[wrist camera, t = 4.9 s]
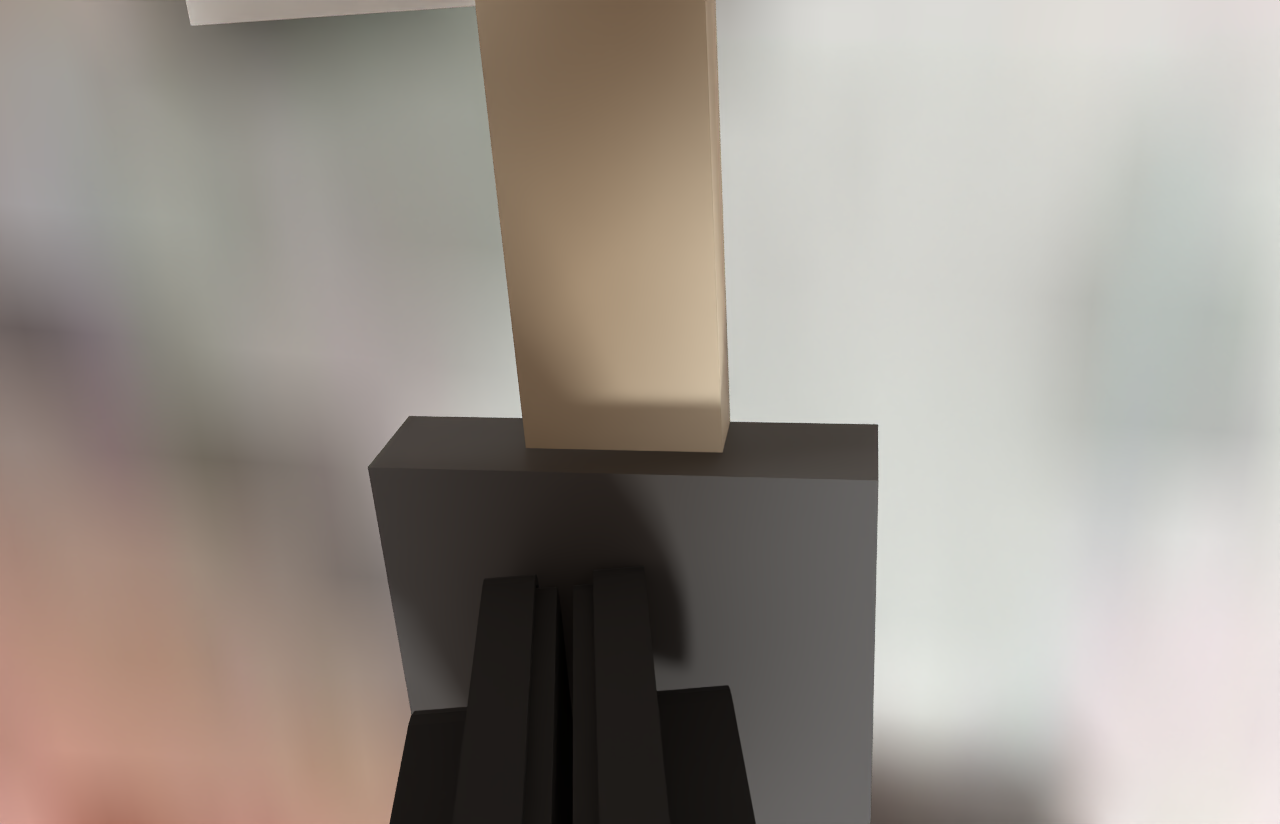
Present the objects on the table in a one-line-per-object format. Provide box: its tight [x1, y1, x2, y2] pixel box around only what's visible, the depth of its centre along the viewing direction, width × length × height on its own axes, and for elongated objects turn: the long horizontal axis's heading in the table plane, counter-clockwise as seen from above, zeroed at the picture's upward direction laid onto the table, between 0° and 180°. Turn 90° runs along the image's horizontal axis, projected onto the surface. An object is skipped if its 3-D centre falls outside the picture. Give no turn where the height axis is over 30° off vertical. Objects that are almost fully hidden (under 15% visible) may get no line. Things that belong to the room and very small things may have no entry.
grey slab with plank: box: [368, 0, 878, 824], centre depth 11 cm, size 22×18×7 cm
